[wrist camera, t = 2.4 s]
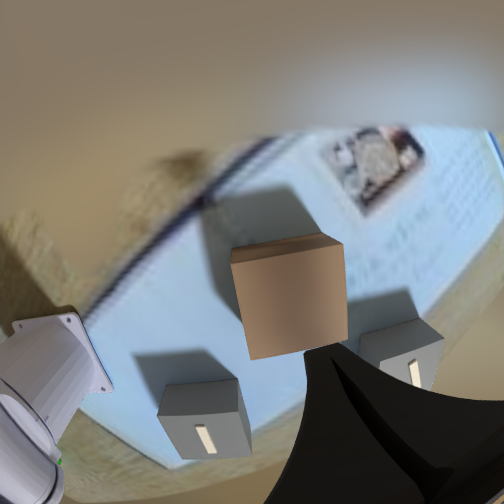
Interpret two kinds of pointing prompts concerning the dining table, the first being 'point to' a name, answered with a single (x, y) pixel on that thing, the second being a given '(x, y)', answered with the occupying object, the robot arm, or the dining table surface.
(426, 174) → the dining table surface
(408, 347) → the slate block
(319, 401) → the robot arm
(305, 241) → the walnut block
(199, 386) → the slate block
